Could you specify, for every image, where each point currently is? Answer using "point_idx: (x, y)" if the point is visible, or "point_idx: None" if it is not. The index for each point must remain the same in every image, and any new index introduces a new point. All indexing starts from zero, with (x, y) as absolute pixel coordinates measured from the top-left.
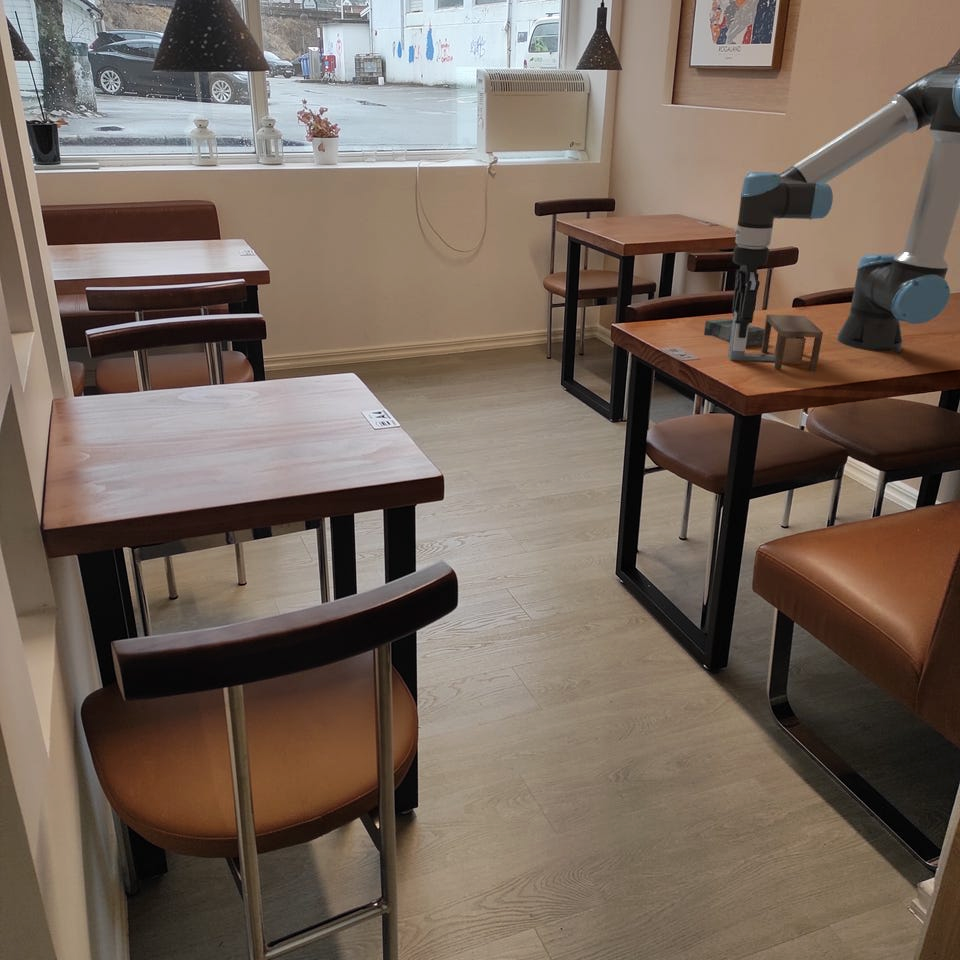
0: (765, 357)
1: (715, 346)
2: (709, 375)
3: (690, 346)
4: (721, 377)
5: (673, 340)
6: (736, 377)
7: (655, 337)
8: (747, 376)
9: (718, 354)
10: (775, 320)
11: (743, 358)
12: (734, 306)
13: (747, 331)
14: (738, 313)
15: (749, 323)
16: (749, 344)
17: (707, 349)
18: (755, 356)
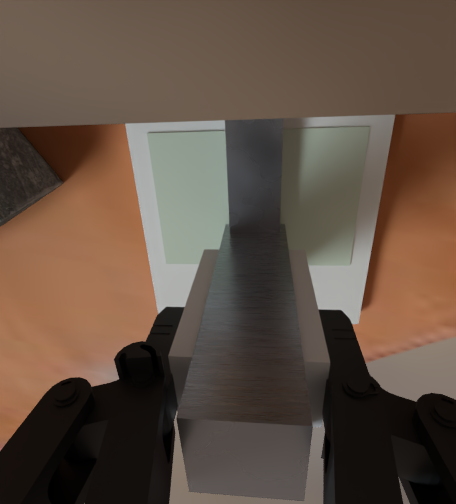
0: (282, 120)
1: (24, 265)
2: (405, 346)
3: (63, 341)
4: (433, 315)
5: (15, 373)
6: (440, 266)
7: (8, 408)
8: (432, 222)
9: (132, 274)
10: (138, 78)
11: (284, 229)
12: (88, 488)
13: (318, 320)
14: (296, 493)
15: (369, 376)
16: (6, 146)
17: (78, 298)
18: (277, 176)
